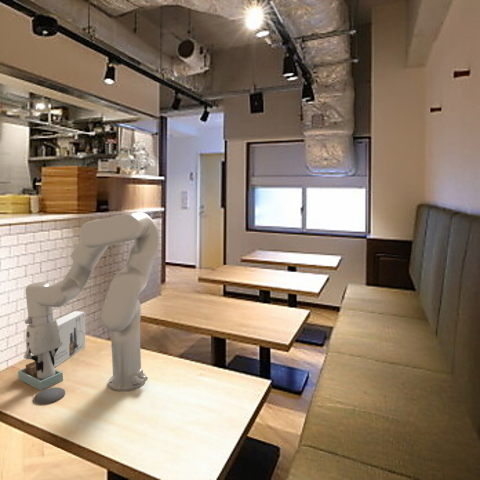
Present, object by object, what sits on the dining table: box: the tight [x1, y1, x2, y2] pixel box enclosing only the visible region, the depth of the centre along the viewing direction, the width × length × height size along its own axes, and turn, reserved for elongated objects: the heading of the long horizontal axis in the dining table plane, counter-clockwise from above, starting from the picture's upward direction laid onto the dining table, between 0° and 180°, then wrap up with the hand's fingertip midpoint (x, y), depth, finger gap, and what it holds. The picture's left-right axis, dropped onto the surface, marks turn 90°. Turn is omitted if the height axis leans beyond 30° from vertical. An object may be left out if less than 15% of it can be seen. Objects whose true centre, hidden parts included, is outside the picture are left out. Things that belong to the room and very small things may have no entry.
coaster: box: [33, 387, 66, 405], centre depth 123 cm, size 9×9×1 cm
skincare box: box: [54, 310, 86, 369], centre depth 150 cm, size 21×6×16 cm, turn 168°
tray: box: [17, 367, 64, 391], centre depth 133 cm, size 14×8×3 cm, turn 58°
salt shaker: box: [37, 351, 56, 381], centre depth 131 cm, size 6×6×13 cm
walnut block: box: [25, 360, 38, 379], centre depth 135 cm, size 4×4×5 cm
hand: (45, 369), depth 131 cm, fingers closed on salt shaker, 3 cm apart
